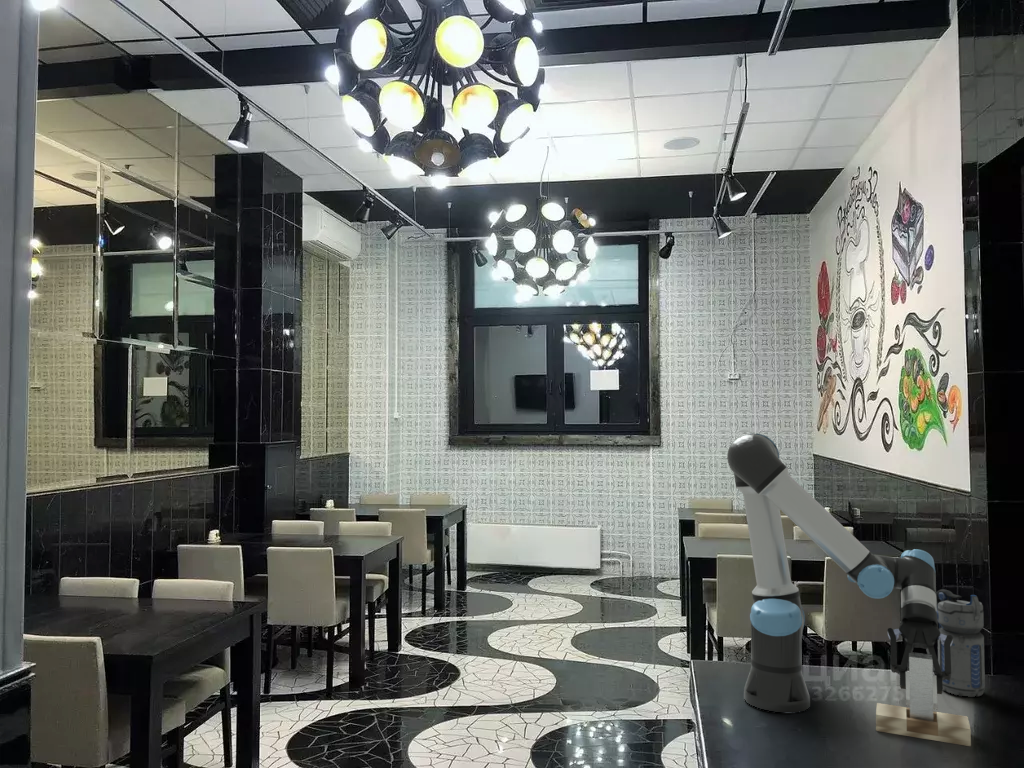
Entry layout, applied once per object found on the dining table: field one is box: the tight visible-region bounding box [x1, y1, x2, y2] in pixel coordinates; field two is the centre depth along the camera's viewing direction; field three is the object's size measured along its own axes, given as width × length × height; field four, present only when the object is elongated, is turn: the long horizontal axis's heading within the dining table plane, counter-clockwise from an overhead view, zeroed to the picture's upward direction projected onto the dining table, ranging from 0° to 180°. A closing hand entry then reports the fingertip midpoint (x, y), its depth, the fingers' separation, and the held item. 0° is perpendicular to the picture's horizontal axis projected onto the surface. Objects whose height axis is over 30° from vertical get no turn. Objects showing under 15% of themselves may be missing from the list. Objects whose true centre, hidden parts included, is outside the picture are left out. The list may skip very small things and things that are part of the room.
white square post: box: [908, 652, 934, 721], centre depth 173 cm, size 4×4×14 cm
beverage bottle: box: [936, 588, 986, 698], centre depth 199 cm, size 10×13×25 cm
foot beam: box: [875, 702, 972, 747], centre depth 172 cm, size 18×8×4 cm, turn 64°
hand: (921, 704), depth 169 cm, fingers closed on white square post, 4 cm apart
